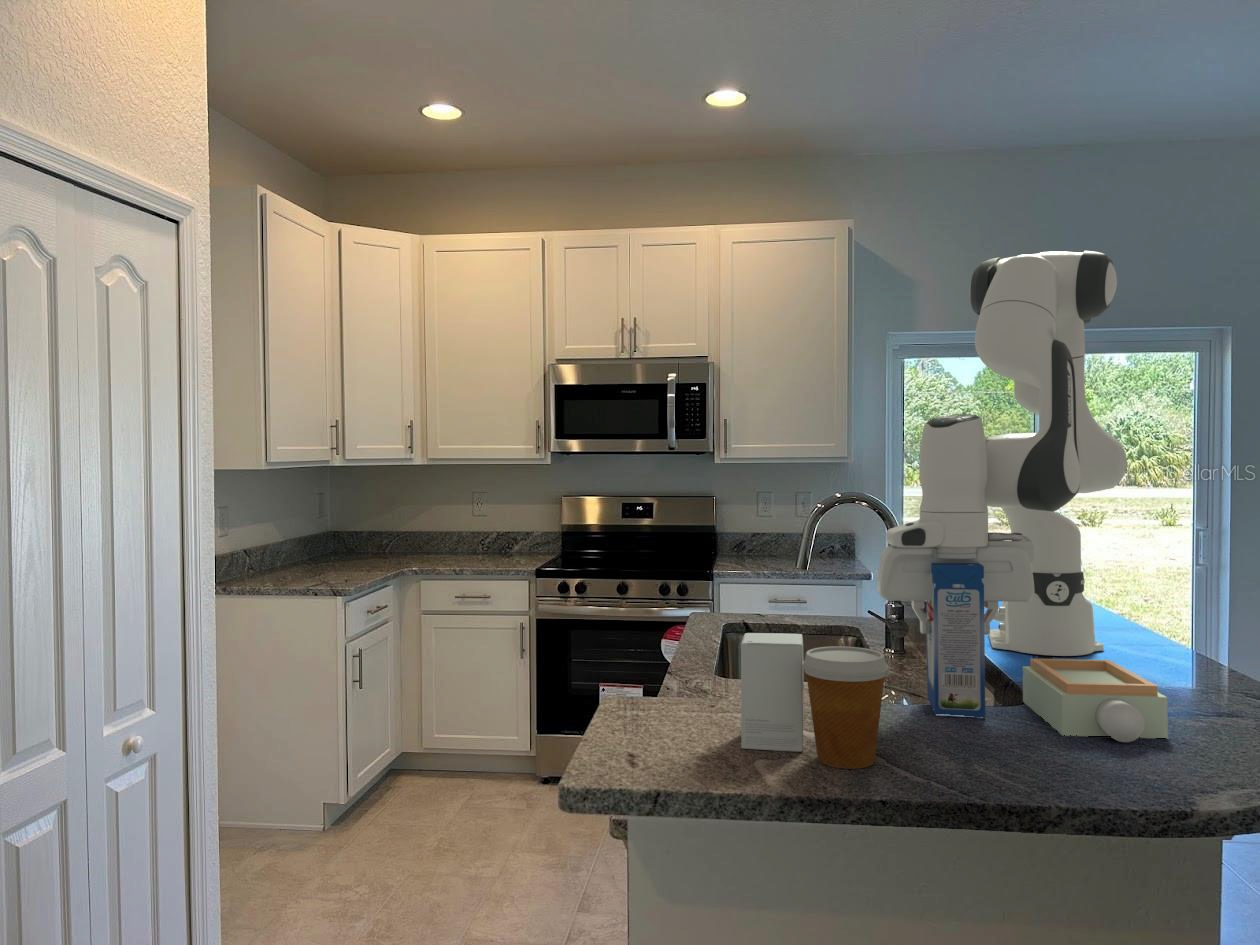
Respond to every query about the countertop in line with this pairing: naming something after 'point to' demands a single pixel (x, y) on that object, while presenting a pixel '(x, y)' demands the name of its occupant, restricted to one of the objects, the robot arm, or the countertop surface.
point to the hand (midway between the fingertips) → (954, 633)
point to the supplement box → (772, 691)
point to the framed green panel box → (1095, 699)
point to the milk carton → (956, 640)
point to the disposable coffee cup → (845, 703)
